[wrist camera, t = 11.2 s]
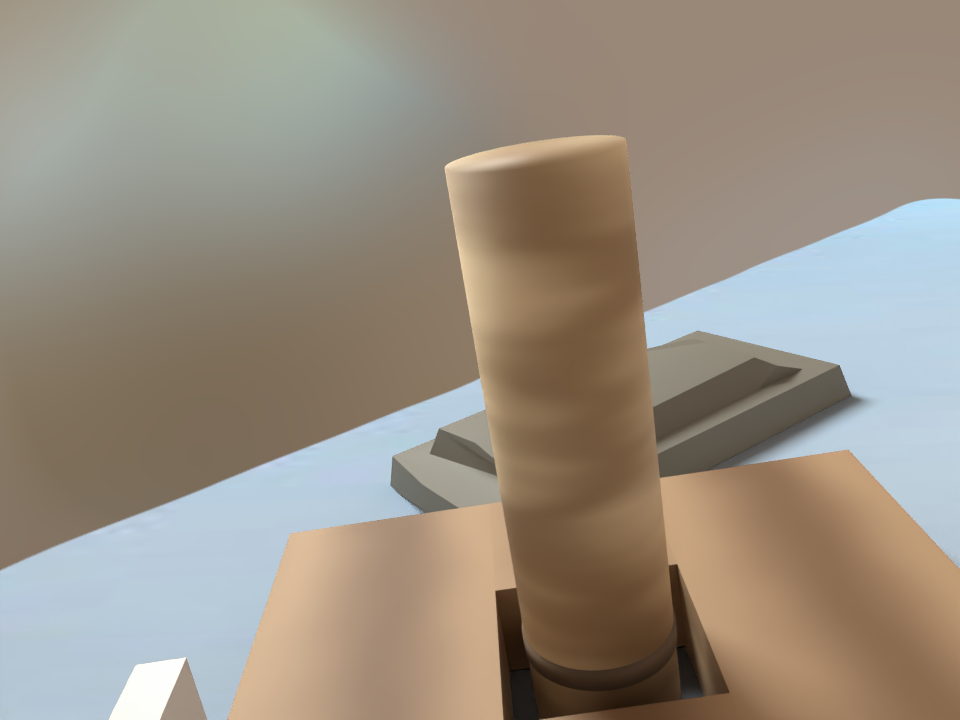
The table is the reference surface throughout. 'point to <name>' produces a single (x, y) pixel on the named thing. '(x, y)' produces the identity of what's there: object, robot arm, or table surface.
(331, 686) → the board
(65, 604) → the table surface
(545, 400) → the oak leg
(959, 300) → the table surface
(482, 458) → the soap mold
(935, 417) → the table surface
